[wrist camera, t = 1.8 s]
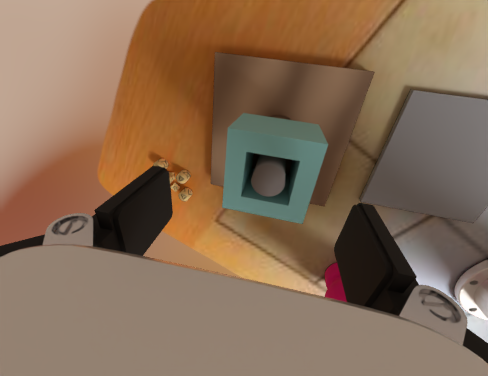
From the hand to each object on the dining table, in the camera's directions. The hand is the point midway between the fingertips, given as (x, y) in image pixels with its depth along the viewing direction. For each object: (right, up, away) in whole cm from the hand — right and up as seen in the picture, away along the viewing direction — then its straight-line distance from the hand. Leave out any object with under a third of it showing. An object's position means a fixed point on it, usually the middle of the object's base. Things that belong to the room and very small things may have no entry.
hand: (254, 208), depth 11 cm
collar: (+2, +4, +7) cm, 9 cm away
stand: (+3, +7, +13) cm, 15 cm away
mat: (+20, +4, +11) cm, 23 cm away
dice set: (-9, +3, +19) cm, 21 cm away
